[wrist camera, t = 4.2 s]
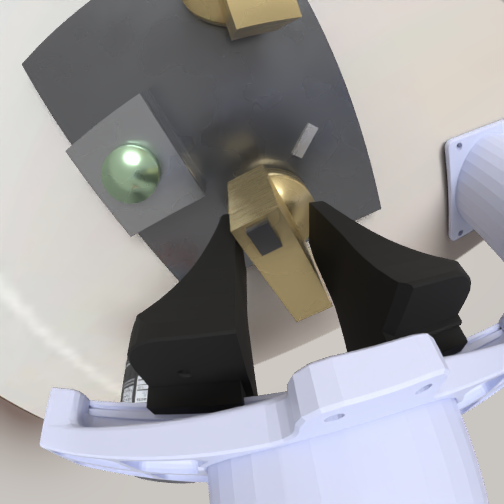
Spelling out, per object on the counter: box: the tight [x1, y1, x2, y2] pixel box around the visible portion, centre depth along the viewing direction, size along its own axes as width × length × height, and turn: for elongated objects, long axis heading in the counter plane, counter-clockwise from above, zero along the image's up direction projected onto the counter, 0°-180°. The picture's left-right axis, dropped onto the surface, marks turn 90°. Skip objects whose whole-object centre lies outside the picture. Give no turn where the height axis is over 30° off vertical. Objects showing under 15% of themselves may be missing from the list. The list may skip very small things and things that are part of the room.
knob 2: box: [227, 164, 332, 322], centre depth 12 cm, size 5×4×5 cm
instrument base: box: [22, 0, 381, 282], centre depth 11 cm, size 12×16×3 cm
